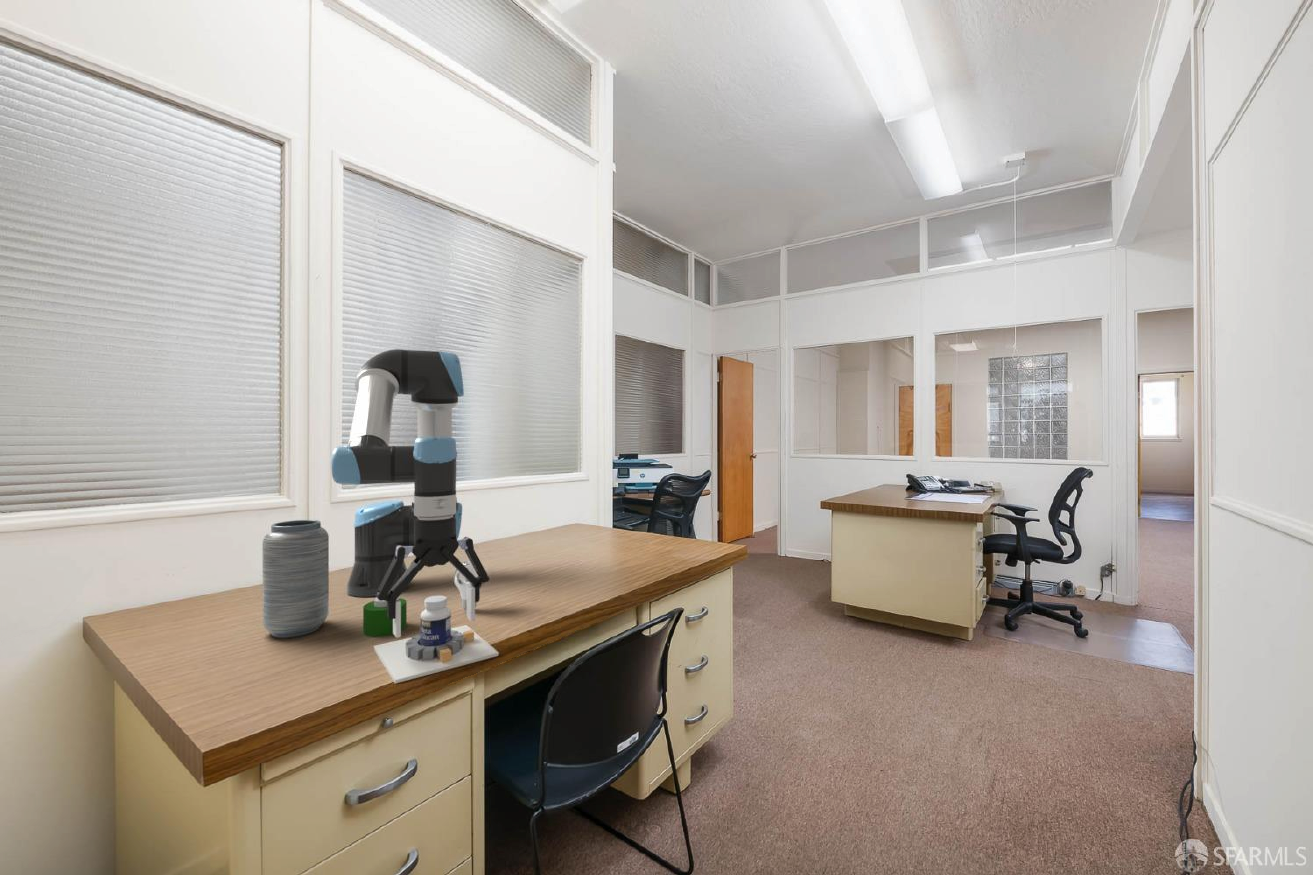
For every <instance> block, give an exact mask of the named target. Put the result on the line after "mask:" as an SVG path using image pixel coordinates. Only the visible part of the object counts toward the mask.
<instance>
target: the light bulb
mask: <svg viewBox="0 0 1313 875" xmlns="http://www.w3.org/2000/svg"><path fill="white" fill-rule="evenodd" d="M461 563H462V564H463V565H464V566H465V567H466V568H467V569H468V570H469V571H470V572H471V573H472V574H473V575H474V576H475V577H478V575H477V573H476V571H475V569H474V567H473V565H472V564H471V562H470V560H466V561H463V562H461ZM453 583H454V585H455V586H456V588H457V590H458V591H459V594H460V598H461V599H462V600H461V607H462V610H464V611H465V612H467V585H471V583H470V582H469V581H468V580H467V579H466V578H465V577H464V576H463V575H462V574H461V573H460V572H459V571H458V570H457V569H456V568H455V570H454V573H453ZM477 604H478V602H475V608H477Z"/></svg>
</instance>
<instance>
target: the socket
mask: <svg viewBox="0 0 1313 875" xmlns="http://www.w3.org/2000/svg"><path fill="white" fill-rule="evenodd" d="M373 650H374V652H375V654H376V655H377V657H378V658H379V660H380V661H381V663H382V665H383V666H384V668H385V669H386V671H387V673H388V675H389V676H390V678H391V679H392V681H393V683H394V684H399V683H402V682H406V681H412V680H413V679H418V678H422V677H424V676H428V675H432V674H436V673H440V672H444V671H447V670H451V669H454V668H459V667H462V666H465V665H470V664H474V663H476V662H481V661H484V660H488V659H491V658H496V657H498V656H499V654H500V653H499V652H498V651H497V649H496V648H494V647H493V646H492V645H491V644H489V643H488V642H487V641H486V640H485V639H484V638H482V637H481V636H480V635H479V634H478V633H477V632H475V630H473V629H472V628H471V627H469V625H467V624H465V625H460V626H456V627H451V641H449V642H447V643H445V644H442V645H438V646H428V647H426V646H421V633H420V634H419V633H418V634H416V635H414V636H411V637H408V638H403V639H398V640H394V641H390V642H386V643H381V644H377V645H373Z"/></svg>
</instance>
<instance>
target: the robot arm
mask: <svg viewBox="0 0 1313 875" xmlns="http://www.w3.org/2000/svg"><path fill="white" fill-rule="evenodd" d="M461 367H462V366H461V362H460V358H459V356H458V355H457V354H455V353H453V352H445V351H441V350H439V351H435V350H432V351H431V350H416V349H415V350H414V349H413V350H412V349H402V348H401V349H399V348H395V349H388V350H385V351H382V352H380V353H377V354H376V355H374V356H373V357H371V358H369V359H368V360H367V361H366V362H364V363H363V365H362V366H361V367H360V369H359V370H358V371H357V374H356V376H355V382H354V387H355V391H356V393H357V395H356V401H355V406H354V412H353V417H352V421H351V426H350V432H349V437H348V443H347V445H343V446H336V447H334V449H333V450H332V453H331V454H332V455H331V466H330V467H331V476H332V479H333V481H334V482H335V483H336V484H340V485H370V484H390V483H392V484H394V483H395V484H397V483H398V484H399V483H400V484H401V483H404V484H405V483H414V485H413V486H414V487H413V488H414V492H413V497H412V498H411V505H405V504H404V501H403V500H398V499H396V500H388V501H381V502H375V503H374V502H373V503H371V504H366V505H364V506H360V507H359V508H358V509H357V510H356V511H355V514H354V523H353V528H354V562H353V566H352V569H351V572H350V575H349V578H348V581H347V583H346V593H347V595H349V596H352V597H360V598H363V597H364V598H365V597H366V598H368V597H370V598H371V597H375V598H378V599H379V600H380V601H382V600H384V601H387V616H388V618H389V619H393V634H392V635H394V637H395V638H396V639H397V638H401V636H402V631H401V601H400V600H399V599H398V598H399V597H400V596H401V594H402V593H403V592H404V591H405V590H407V589H408V588H409V587H410V586H411V582H412V581H413V579H414V578H415V577H416V575H417V574H418V573H419V572H420V571H422V569H423V568H424V567H428V568H430V567H431V568H432V567H435V566H445V565H446V564H447V563H450V564H451V566H453V567H454V568H455V570H456V569H457V570H458V571H459V572H460V573H461V574H462V575H463V576H464V577H465V578H466V579H467V580H468V581H469V582H470V583H471V585H467V611H466V619H468V620H469V621H470V622H473V621H476V607H475V602H477V603H478V602H480V597H481V596H480V588H481V587H482V586H483V584H485V583H488V582H489V580H490V577H489V575H488V573H487V571H486V569H485V567H484V565H483V564H482V561H481V560H480V558H479V556H478V554H477V552H476V550H475V549H474V547H475V546H474V540H473V539H472V538H470V537H468V536H464V537H463V538H461V539H459V536H460V533H461V526H462V518H463V517H462V516H463V504H462V503H461V502H458V497H457V457H458V452H457V442H456V439H455V438H454V437H452V436H453V431H452V430H453V408H454V407H455V406H456V405H458V404H459V397H464V395H465V391H464V390H465V389H464V381H463V374H462V368H461ZM397 395H409V396H411V397H410V398H411V400H410V401H411V404H413V405H414V406H415V407H416V408H417V438H415V440H414V443H413V444H414V445H390V440H391V429H392V428H391V427H392V418H393V409H394V408H393V407H394V399H395V398H396V397H397ZM459 547H460V549H462V550H463V551H464V553H465V554H466V556H467V558H468V561H470V562H471V564H472V565H473V567H474V569H475V571H476V573H477V575H478V577H475V576H474V575H473V574H472V573H471V572H470V571H469V570H468V569H467V568H466V567H465V566H464V565H463V564H462V563H463V562H461V560H460V559H458V557H457V556H455V553H456V551H457V550H458V549H459ZM411 553H412V555H414V556H415V557H414V559H413V560H412V561H411V562H410V565H408V567H407V565H406V563H405V559H406V558H408V557H409V555H410V554H411Z"/></svg>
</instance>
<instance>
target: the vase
mask: <svg viewBox="0 0 1313 875" xmlns="http://www.w3.org/2000/svg"><path fill="white" fill-rule="evenodd" d="M321 523H322V522H321V521H320V520H317V519H298V520H296V519H295V520H285V521H280V522H275V523H273V524H272V525H271V527H270V528H271V530H270V531H269V532H267V533H266V534H265V536H264V537H263V539H262V626H263V628H264V629H265V630H266V631H267V632H268V633H271V636H272V637H274V638H277V639H278V638H281V639H283V638H284V639H287V638H296V637H301V636H305V635H308V634H312V633H314V632H315V631H317V630H319V629H320V628H321V626H322V624H323V623H324V622H325V621H326V619H327V618H328V616H329V614H330V613H329V609H330V608H329V607H330V603H329V600H330V599H329V598H330V597H329V595H330V594H329V593H330V592H329V591H330V590H329V589H330V588H329V587H330V585H329V582H330V581H329V580H330V578H329V576H330V574H329V572H330V570H329V569H330V568H329V567H330V564H329V562H330V560H329V559H330V557H329V555H330V553H329V550H330V548H329V546H330V545H329V542H330V541H329V540H330V539H329V538H330V535H329V532H328V531H327V530H326V528H324V527H322V524H321Z"/></svg>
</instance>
